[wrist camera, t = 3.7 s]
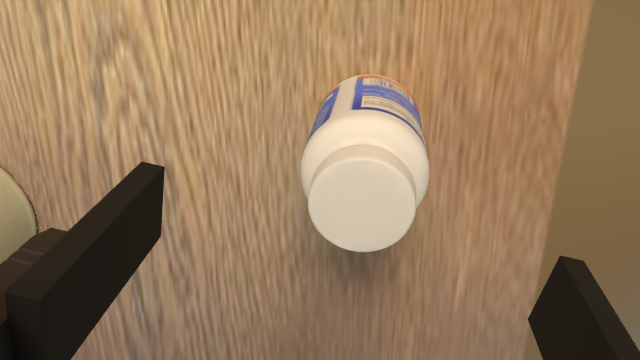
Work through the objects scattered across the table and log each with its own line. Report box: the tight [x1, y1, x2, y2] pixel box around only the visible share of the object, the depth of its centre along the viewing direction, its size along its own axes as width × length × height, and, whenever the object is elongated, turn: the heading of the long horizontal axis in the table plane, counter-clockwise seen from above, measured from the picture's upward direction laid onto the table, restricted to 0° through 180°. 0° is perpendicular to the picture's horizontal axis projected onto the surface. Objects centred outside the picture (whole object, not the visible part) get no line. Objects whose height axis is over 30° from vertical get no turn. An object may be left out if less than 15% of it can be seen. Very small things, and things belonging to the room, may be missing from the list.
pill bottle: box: [301, 74, 429, 252], centre depth 23 cm, size 5×5×10 cm
